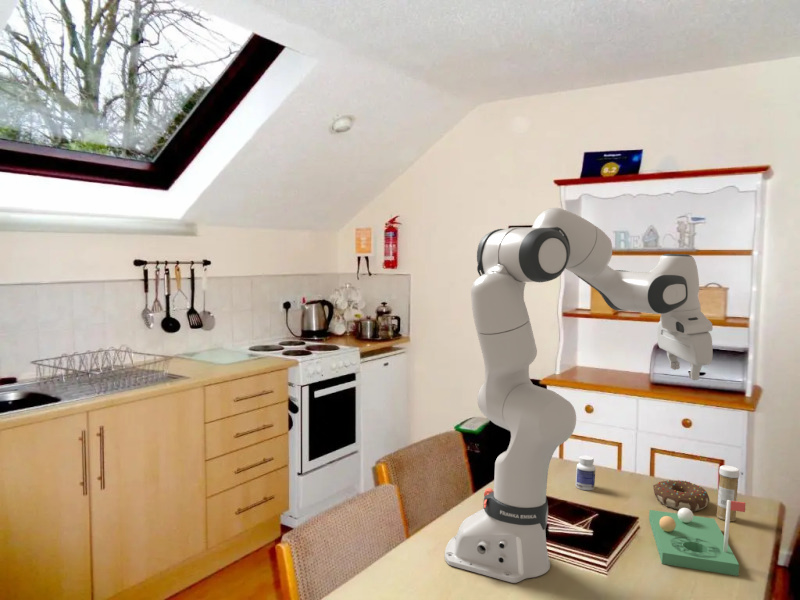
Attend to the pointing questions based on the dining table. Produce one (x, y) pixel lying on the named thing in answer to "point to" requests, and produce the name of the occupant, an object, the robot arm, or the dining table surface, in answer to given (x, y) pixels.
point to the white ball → (685, 515)
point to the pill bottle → (585, 473)
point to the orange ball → (667, 523)
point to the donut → (681, 495)
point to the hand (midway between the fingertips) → (684, 373)
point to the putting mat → (696, 542)
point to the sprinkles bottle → (727, 490)
